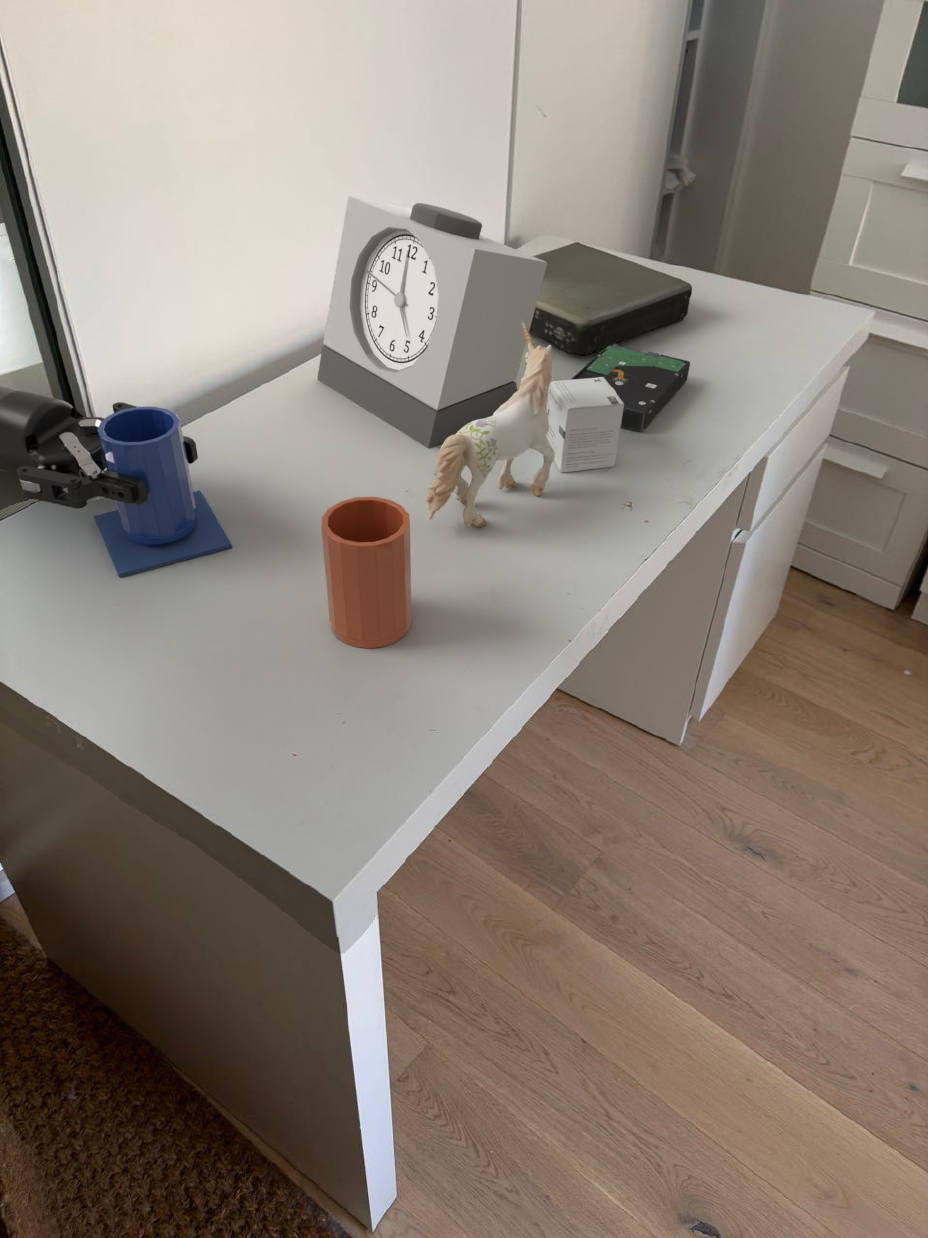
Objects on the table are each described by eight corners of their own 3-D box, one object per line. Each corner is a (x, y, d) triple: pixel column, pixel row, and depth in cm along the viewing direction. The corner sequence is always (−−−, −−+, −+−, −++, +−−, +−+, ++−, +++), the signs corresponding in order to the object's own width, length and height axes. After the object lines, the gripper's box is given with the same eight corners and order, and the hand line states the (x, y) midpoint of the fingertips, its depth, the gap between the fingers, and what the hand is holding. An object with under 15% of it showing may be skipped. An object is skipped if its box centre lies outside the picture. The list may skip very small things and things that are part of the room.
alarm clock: (317, 378, 113) (302, 196, 100) (422, 343, 121) (421, 170, 108) (428, 448, 101) (427, 252, 88) (536, 403, 109) (550, 218, 96)
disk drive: (643, 436, 104) (687, 381, 114) (647, 413, 102) (691, 359, 112) (555, 413, 108) (606, 361, 118) (557, 390, 106) (608, 339, 116)
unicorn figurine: (577, 461, 99) (591, 337, 91) (489, 558, 86) (496, 424, 78) (515, 443, 102) (522, 321, 93) (420, 534, 89) (419, 402, 80)
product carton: (541, 444, 102) (547, 380, 97) (596, 438, 103) (603, 374, 98) (560, 474, 97) (567, 408, 93) (616, 467, 99) (626, 401, 94)
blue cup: (131, 552, 84) (107, 451, 78) (115, 513, 88) (90, 415, 82) (206, 533, 87) (188, 434, 80) (186, 497, 91) (168, 400, 85)
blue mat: (119, 577, 83) (118, 574, 83) (94, 518, 90) (93, 515, 89) (232, 547, 87) (231, 544, 86) (200, 493, 93) (200, 490, 93)
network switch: (699, 313, 130) (706, 276, 127) (600, 370, 116) (605, 330, 113) (559, 269, 141) (562, 234, 138) (453, 316, 127) (454, 278, 124)
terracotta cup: (349, 658, 76) (341, 554, 69) (318, 610, 80) (308, 508, 74) (424, 633, 78) (424, 531, 72) (391, 588, 83) (387, 488, 76)
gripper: (-58, 430, 80) (107, 474, 75) (59, 361, 90) (211, 396, 86) (-31, 506, 85) (126, 552, 80) (78, 432, 95) (222, 469, 91)
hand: (169, 471), depth 83 cm, fingers closed on blue cup, 6 cm apart
